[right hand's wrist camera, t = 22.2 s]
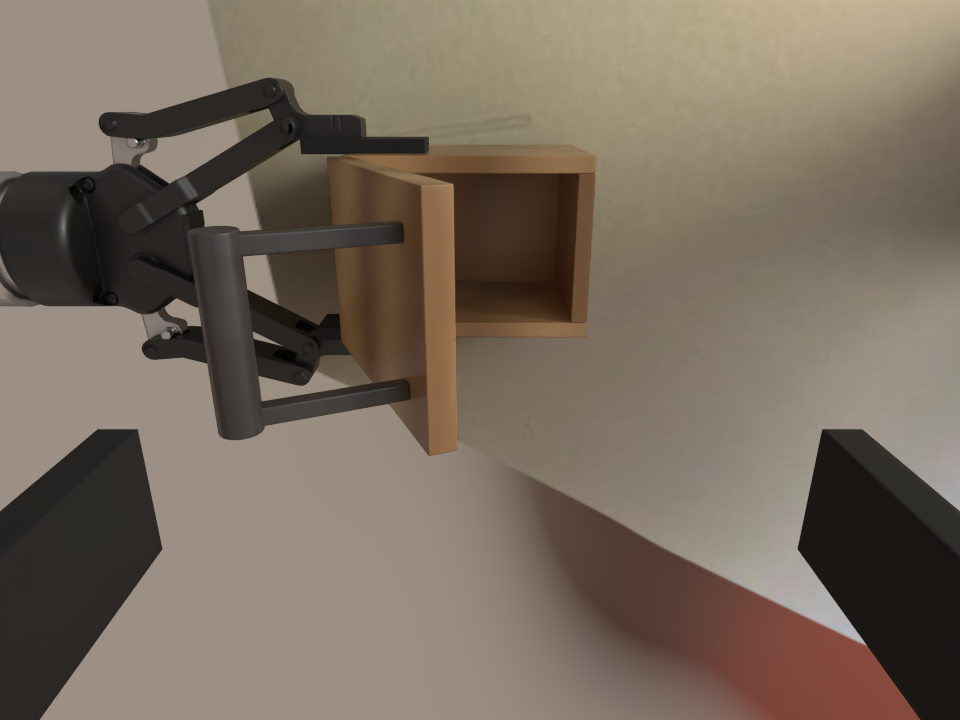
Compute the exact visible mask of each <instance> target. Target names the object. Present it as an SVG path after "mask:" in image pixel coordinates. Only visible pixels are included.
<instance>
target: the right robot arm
mask: <svg viewBox="0 0 960 720" xmlns="http://www.w3.org/2000/svg"><path fill="white" fill-rule="evenodd" d="M161 550H162V545H161V540H160V536H159V531H158V526H157V521H156V516H155V511H154V506H153V501H152V497H151V492H150V487H149V482H148V477H147V472H146V467H145V462H144V458H143V453H142V448H141V443H140V438H139V433H138V430H137V429H98V430H96V431H95V432H94V433H93V434H92V435H90V436H89V437H88V438H87V439H86V440H85V441H83V442H82V443H81V444H80V445H79V446H77V447H76V448H75V449H74V450H73V451H71V452H70V453H69V454H68V455H67V456H66V457H64V458H63V459H62V460H61V461H60V462H58V463H57V464H56V465H55V466H54V467H52V468H51V469H50V470H49V471H48V472H47V473H45V474H44V475H43V476H42V477H41V478H39V479H38V480H37V481H36V482H35V483H33V484H32V485H31V486H30V487H29V488H28V489H26V490H25V491H24V492H23V493H22V494H20V495H19V496H18V497H17V498H16V499H14V500H13V501H12V502H11V503H10V504H8V505H7V506H6V507H5V508H4V509H3V510H1V511H0V720H40V718H41V717H42V716H43V714H44V713H45V711H46V710H47V709H48V707H49V706H50V704H51V703H52V702H53V700H54V699H55V697H56V696H57V695H58V693H59V692H60V691H61V689H62V688H63V686H64V685H65V684H66V682H67V681H68V679H69V678H70V677H71V675H72V674H73V672H74V671H75V670H76V668H77V667H78V666H79V664H80V663H81V661H82V660H83V659H84V657H85V656H86V654H87V653H88V652H89V650H90V649H91V647H92V646H93V645H94V643H95V642H96V641H97V639H98V638H99V636H100V635H101V634H102V632H103V631H104V629H105V628H106V627H107V625H108V624H109V622H110V621H111V620H112V618H113V617H114V616H115V614H116V613H117V611H118V610H119V609H120V607H121V606H122V604H123V603H124V602H125V600H126V599H127V597H128V596H129V595H130V593H131V592H132V591H133V589H134V588H135V586H136V585H137V584H138V582H139V581H140V579H141V578H142V577H143V575H144V574H145V572H146V571H147V570H148V568H149V567H150V566H151V564H152V563H153V561H154V560H155V559H156V557H157V556H158V554H159V553H160V552H161ZM798 550H799V552H800V553H801V554H802V556H803V557H804V559H805V560H806V561H807V563H808V564H809V566H810V567H811V568H812V570H813V571H814V572H815V574H816V575H817V577H818V578H819V579H820V581H821V582H822V584H823V585H824V586H825V588H826V589H827V591H828V592H829V593H830V595H831V596H832V597H833V599H834V600H835V602H836V603H837V604H838V606H839V607H840V609H841V610H842V611H843V613H844V614H845V616H846V617H847V618H848V620H849V621H850V622H851V624H852V625H853V627H854V628H855V629H856V631H857V632H858V634H859V635H860V636H861V638H862V639H863V641H864V642H865V643H866V645H867V646H868V647H869V649H870V650H871V652H872V653H873V654H874V656H875V657H876V659H877V660H878V661H879V663H880V664H881V666H882V667H883V668H884V670H885V671H886V672H887V674H888V675H889V677H890V678H891V679H892V681H893V682H894V684H895V685H896V686H897V688H898V689H899V691H900V692H901V693H902V695H903V696H904V697H905V699H906V700H907V702H908V703H909V704H910V706H911V707H912V709H913V710H914V711H915V713H916V714H917V716H918V717H919V718H920V720H960V511H959V510H957V509H956V508H955V507H954V506H953V505H952V504H950V503H949V502H948V501H947V500H946V499H944V498H943V497H942V496H941V495H940V494H938V493H937V492H936V491H935V490H934V489H933V488H931V487H930V486H929V485H928V484H927V483H925V482H924V481H923V480H922V479H921V478H919V477H918V476H917V475H916V474H915V473H913V472H912V471H911V470H910V469H909V468H908V467H906V466H905V465H904V464H903V463H902V462H900V461H899V460H898V459H897V458H896V457H894V456H893V455H892V454H891V453H890V452H889V451H887V450H886V449H885V448H884V447H883V446H881V445H880V444H879V443H878V442H877V441H875V440H874V439H873V438H872V437H871V436H869V435H868V434H867V433H866V432H865V431H864V430H862V429H822V433H821V438H820V443H819V448H818V453H817V458H816V462H815V467H814V472H813V477H812V482H811V487H810V492H809V496H808V501H807V506H806V511H805V516H804V521H803V526H802V530H801V535H800V540H799V545H798Z"/></svg>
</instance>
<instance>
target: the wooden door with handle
mask: <svg viewBox="0 0 960 720" xmlns="http://www.w3.org/2000/svg"><path fill="white" fill-rule="evenodd" d="M327 163H328V175H329V188H330V201H331V213H332V225H328V226H313V227H298V228H284V229H269V230H254V231H239V229H238V228H236V227H231V226H210V227H201V228H195V229H191V230H189V231H188V232H187V237H188V244H189V250H190V256H191V263H192V269H193V275H194V282H195V288H196V294H197V301H198V307H199V313H200V319H201V326H202V332H203V339H204V345H205V351H206V358H207V364H208V370H209V376H210V383H211V389H212V396H213V402H214V408H215V415H216V421H217V427H218V433H219V435H220V436H221V437H222V438H224V439H228V440H242V439H247V438H251V437H254V436H256V435H258V434H260V433H261V432H262V431H263V430H264V428H265V426H266V425H272V424H278V423H283V422H289V421H295V420H300V419H306V418H311V417H317V416H323V415H328V414H334V413H339V412H345V411H351V410H356V409H362V408H368V407H373V406H379V405H385V404H390V406H391V407H392V408H393V410H394V411H395V412H396V414H397V415H398V416H399V417H400V419H401V420H402V421H403V423H404V424H405V425H406V427H407V428H408V429H409V430H410V432H411V433H412V434H413V436H414V437H415V438H416V440H417V441H418V442H419V444H420V445H421V446H422V448H423V449H424V450H425V451H426V453H427V454H428V455H429V456H432V455H436V454H441V453H445V452H450V451H455V450H457V406H456V333H455V260H454V187H453V184H452V183H448V182H444V181H440V180H437V179H433V178H429V177H425V176H421V175H418V174H414V173H410V172H406V171H402V170H399V169H395V168H391V167H387V166H383V165H380V164H376V163H372V162H368V161H364V160H361V159H357V158H353V157H349V156H345V157H327ZM326 249H334V251H335V264H336V277H337V289H338V302H339V315H340V327H341V340H342V343H343V344H344V346H345V347H346V348H347V350H348V351H349V352H350V353H351V355H352V356H353V357H354V359H355V360H356V361H357V363H358V364H359V365H360V366H361V368H362V369H363V370H364V372H365V373H366V374H367V376H368V377H369V378H370V380H371V381H372V382H373V383H372V384H366V385H360V386H354V387H347V388H341V389H336V390H329V391H324V392H317V393H311V394H305V395H299V396H293V397H287V398H281V399H275V400H268V401H261V393H260V385H259V378H258V370H257V362H256V354H255V347H254V339H253V331H252V323H251V316H250V308H249V300H248V293H247V285H246V277H245V269H244V262H243V256H253V255H265V254H278V253H290V252H302V251H314V250H326Z"/></svg>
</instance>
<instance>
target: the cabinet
mask: <svg viewBox="0 0 960 720" xmlns="http://www.w3.org/2000/svg"><path fill="white" fill-rule="evenodd" d="M345 156H349V157H353V158H357V159H361V160H364V161H368V162H372V163H376V164H380V165H383V166H387V167H391V168H395V169H399V170H402V171H406V172H410V173H414V174H418V175H421V176H425V177H429V178H433V179H437V180H440V181H444V182H448V183H452V184H453V187H454V260H455V333H456V337H585V336H586V322H587V307H588V290H589V274H590V257H591V241H592V224H593V208H594V191H595V174H594V173H595V172H596V158H597V157H596V156H594V155H592V154H590V153H588V152H585V151H583V150H581V149H579V148H576V147H574V146H572V145H429V151H428V152H427V153H425V154H346V155H343V156H342V157H345Z"/></svg>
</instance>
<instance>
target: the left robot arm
mask: <svg viewBox="0 0 960 720" xmlns="http://www.w3.org/2000/svg"><path fill="white" fill-rule="evenodd" d="M265 109H269V110H270V112H271V114H272V117H273V119H274V121H273V122H271V123H269V124H268V125H266V126H264V127H263V128H261V129H260V130H258V131H256V132H255V133H253V134H252V135H250V136H248V137H247V138H245V139H244V140H242V141H240V142H239V143H237V144H236V145H234V146H232V147H231V148H229V149H227V150H226V151H224V152H223V153H221V154H219V155H218V156H216V157H215V158H213V159H211V160H210V161H208V162H207V163H205V164H203V165H202V166H200V167H199V168H197V169H195V170H194V171H192V172H190V173H189V174H187V175H185V176H184V177H181V178H179V179H177V180H175V181H174V182H172V183H170V184H169V183H168V182H166V181H165V180H163V179H162V178H160V177H159V176H157V175H156V174H154V173H153V172H151V171H149V170H148V169H147V168H145V167H144V166H142V165H140V158H141V156H142V155H143V154H145V153H149V152H152V151H154V150H155V149H156V147H157V142H158V140H157V138H162V137H172V136H176V135H181V134H184V133H187V132H191V131H194V130H198V129H201V128H204V127H208V126H211V125H215V124H218V123H221V122H225V121H228V120H231V119H235V118H238V117H242V116H245V115H248V114H252V113H255V112H259V111H262V110H265ZM99 126H100V129H101V130H102V132H103V133H104V134H106V135H107V136H111V145H112V155H113V165H110V166H109V167H107V168H106V169H104V170H102V171H100V172H29V173H25V174H21V173H18V172H0V306H35V305H39V304H41V305H45V306H122V307H126V308H128V309H131V310H133V311H135V312H137V313H140V314H142V317H143V321H144V325H145V328H146V332H147V335H148V339H149V340H147V341H146V342H145V343H144V344H143V346H142V352H143V354H144V355H145V356H146V357H147V358H149V359H153V360H158V359H170V358H182V357H183V358H187V359H191V360H195V361H199V362H204V363H207V358H206V351H205V345H204V339H203V332H202V327H200V326H187V322H186V321H185V320H184V319H180V318H175V317H172V316H170V315H169V314H168V313H167V312H166V310H165V306H167V305H168V304H169V303H171V302H172V301H173V300H174V299H176V298H177V299H179V300H181V301H184V302H186V303H188V304H190V305H192V306H194V307H198V301H197V294H196V288H195V282H194V275H193V269H192V263H191V256H190V250H189V244H188V237H187V232H188V231H189V230H191V229H195V228H201V227H204V216H203V210H199V209H198V207H197V205H196V203H198V202H200V201H201V200H203V199H204V198H206V197H208V196H209V195H211V194H213V193H214V192H215V191H216V190H218V189H219V188H221V187H223V186H224V185H226V184H228V183H229V182H231V181H232V180H234V179H236V178H237V177H239V176H241V175H242V174H244V173H246V172H247V171H249V170H250V169H252V168H254V167H255V166H257V165H259V164H260V163H262V162H264V161H265V160H267V159H269V158H270V157H272V156H273V155H275V154H277V153H278V152H280V151H282V150H283V149H285V148H287V147H288V146H290V145H291V144H293V143H295V142H296V141H298V140H300V145H301V154H425V153H427V152H428V151H429V137H366V122H365V119H364V118H362V117H360V116H357V115H310V114H307V113H305V112H304V111H303V110H302V109H301V108H300V106H299V105H298V102H297V100H296V98H295V95H294V88H293V86H292V84H291V83H289V82H288V81H286V80H283V79H276V78H265V79H261V80H258V81H255V82H251V83H248V84H245V85H241V86H238V87H235V88H231V89H228V90H225V91H221V92H218V93H215V94H211V95H208V96H205V97H201V98H198V99H195V100H192V101H188V102H185V103H181V104H178V105H175V106H172V107H168V108H165V109H161V110H158V111H155V112H152V113H148V114H147V113H136V112H108V113H104V114H102V115H101V116H100V118H99ZM247 293H248V300H249V308H250V316H251V323H252V331H253V332H255V333H257V334H260V335H262V336H264V337H266V338H268V339H270V340H272V341H274V342H276V343H278V344H280V345H282V346H280V345H276V344H271V343H267V342H263V341H259V340H255V339H254V347H255V354H256V362H257V370H258V376H262V377H266V378H270V379H274V380H278V381H282V382H286V383H291V384H294V385H300V386H303V385H306V384H307V383H308V382H309V380H310V379H311V377H312V376H313V374H314V373H315V371H316V369H317V368H318V366H319V360H320V357H321V356H323V355H351V353H350V352H349V351H348V350H347V348H346V347H345V346H344V344H343V343H342V340H341V327H340V315H339V314H327V315H326V316H325V318H324V319H323V320H322V322H321V323H320V325H317V324H315V323H313V322H311V321H309V320H307V319H305V318H303V317H301V316H299V315H297V314H295V313H293V312H291V311H289V310H287V309H285V308H283V307H281V306H279V305H277V304H275V303H273V302H271V301H269V300H267V299H265V298H263V297H261V296H259V295H257V294H255V293H253V292H251V291H249V290H247ZM198 308H199V307H198Z"/></svg>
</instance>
